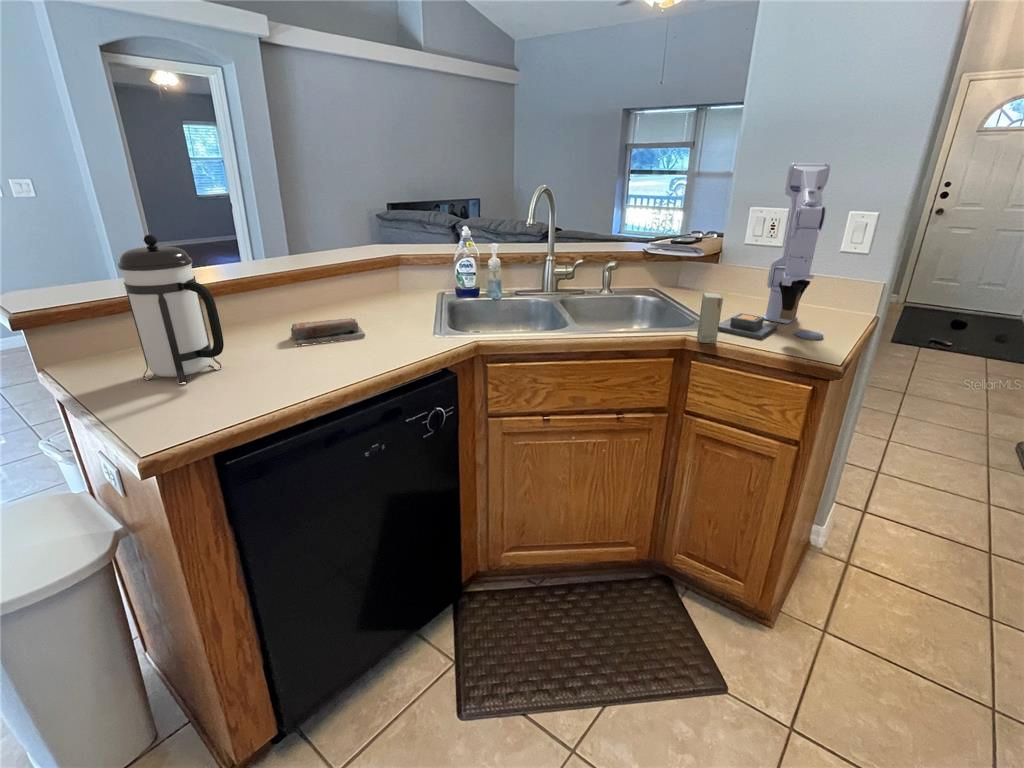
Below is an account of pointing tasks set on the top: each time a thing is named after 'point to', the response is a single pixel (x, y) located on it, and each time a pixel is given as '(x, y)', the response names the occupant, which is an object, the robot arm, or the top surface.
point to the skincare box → (709, 317)
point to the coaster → (809, 335)
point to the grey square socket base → (747, 327)
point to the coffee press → (170, 310)
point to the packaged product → (326, 331)
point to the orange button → (748, 317)
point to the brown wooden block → (791, 314)
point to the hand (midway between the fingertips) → (789, 308)
